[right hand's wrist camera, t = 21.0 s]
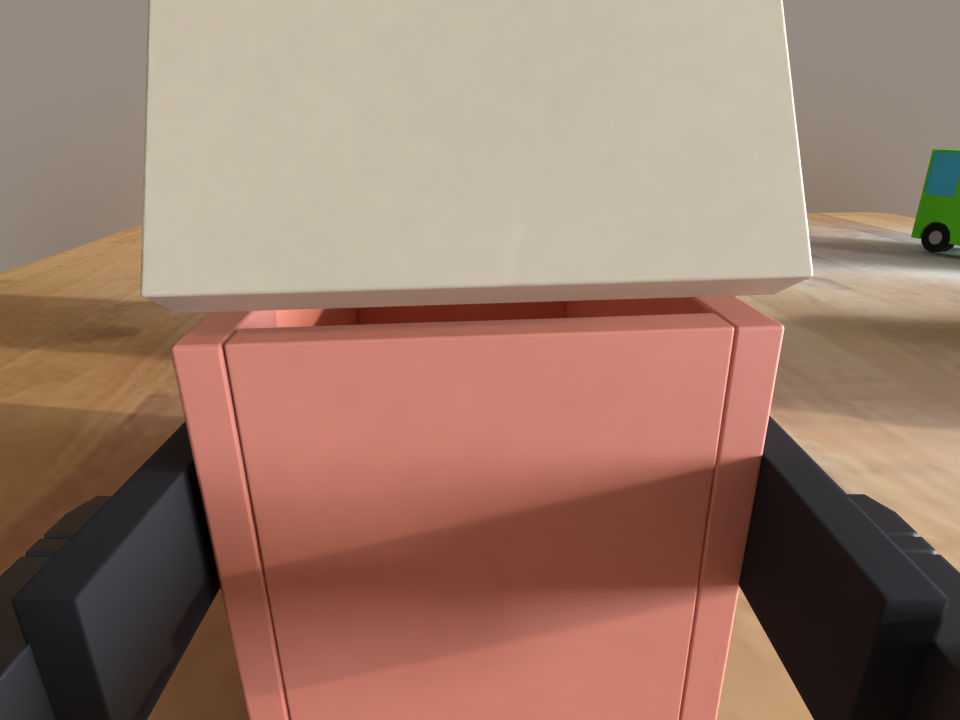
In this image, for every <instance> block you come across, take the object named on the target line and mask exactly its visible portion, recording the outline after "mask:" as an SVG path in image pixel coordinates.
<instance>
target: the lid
mask: <svg viewBox="0 0 960 720" xmlns="http://www.w3.org/2000/svg"><path fill="white" fill-rule="evenodd" d="M812 276H813V268H812V259H811V250H810V241H809V232H808V223H807V215H806V206H805V197H804V188H803V179H802V170H801V161H800V153H799V144H798V135H797V126H796V117H795V108H794V99H793V90H792V81H791V73H790V64H789V55H788V46H787V37H786V28H785V19H784V10H783V2H782V0H149V2H148V38H147V75H146V110H145V147H144V184H143V220H142V255H141V291H140V293H141V296H142V297H143V298H145V299H148V300H150V301H152V302H154V303H156V304H159V305H161V306H163V307H165V308H167V309H169V310H172V311H174V312H176V313H199V312H231V311H263V310H295V309H327V308H358V307H390V306H422V305H454V304H486V303H517V302H549V301H581V300H613V299H645V298H676V297H708V296H740V295H772V294H775V293H777V292H779V291H781V290H783V289H786V288H788V287H790V286H792V285H795V284H797V283H799V282H801V281H803V280H806V279H808V278H810V277H812Z"/></svg>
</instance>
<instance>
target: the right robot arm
mask: <svg viewBox="0 0 960 720" xmlns="http://www.w3.org/2000/svg"><path fill="white" fill-rule="evenodd" d="M44 536H45V537H44V539H39V540H38V541H37V542H36V543H35V544H34V545H33V546H32V547H31V548H30V549H29V550H28V551H27V552H26V556H25V557H20V558H19V559H18V560H17V561H16V562H15V563H14V564H13V565H12V566H11V567H10V568H9V569H8V570H7V571H6V572H5V573H4V574H3V575H2V576H0V720H147V718H148V716H149V715H150V713H151V711H152V709H153V707H154V706H155V704H156V702H157V700H158V698H159V697H160V695H161V693H162V691H163V689H164V688H165V686H166V684H167V682H168V680H169V679H170V677H171V675H172V673H173V672H174V670H175V668H176V666H177V664H178V663H179V661H180V659H181V657H182V655H183V654H184V652H185V650H186V648H187V646H188V645H189V643H190V641H191V639H192V637H193V636H194V634H195V632H196V630H197V628H198V627H199V625H200V623H201V621H202V619H203V618H204V616H205V614H206V612H207V610H208V609H209V607H210V605H211V603H212V602H213V600H214V598H215V596H216V594H217V593H218V591H219V589H220V587H221V586H220V581H219V577H218V572H217V567H216V562H215V558H214V553H213V548H212V544H211V539H210V534H209V530H208V525H207V520H206V515H205V511H204V506H203V501H202V497H201V492H200V487H199V482H198V478H197V473H196V468H195V464H194V459H193V454H192V449H191V445H190V440H189V435H188V431H187V426H186V421H185V422H184V423H183V424H182V425H181V427H180V428H179V429H178V430H177V431H176V432H175V433H174V434H173V435H172V436H171V437H170V438H169V439H168V440H167V441H166V442H165V443H164V444H163V445H162V446H161V447H160V448H159V449H158V450H157V451H156V452H155V453H154V454H153V455H152V456H151V457H150V458H149V459H148V460H147V461H146V462H145V463H144V464H143V465H142V466H141V467H140V468H139V469H138V470H137V471H136V472H135V473H134V474H133V475H132V476H131V477H130V478H129V479H128V480H127V481H126V482H125V483H124V485H123V486H122V487H121V488H120V489H119V490H118V491H117V492H116V493H115V494H114V495H113V496H97V497H95V498H93V499H91V500H90V501H88V502H86V503H85V504H83V505H81V506H79V507H78V508H76V509H74V510H72V511H71V512H69V513H67V514H66V515H65V516H64V517H63V518H62V519H61V520H60V521H58V522H57V523H56V524H55V525H54V526H53V527H52V528H51V529H50V530H49V531H48V532H47V533H46V534H45V535H44ZM739 586H740V588H741V590H742V591H743V593H744V595H745V597H746V599H747V600H748V602H749V604H750V606H751V607H752V609H753V611H754V613H755V615H756V616H757V618H758V620H759V622H760V624H761V625H762V627H763V629H764V631H765V633H766V634H767V636H768V638H769V640H770V642H771V643H772V645H773V647H774V649H775V651H776V652H777V654H778V656H779V658H780V660H781V661H782V663H783V665H784V667H785V668H786V670H787V672H788V674H789V676H790V677H791V679H792V681H793V683H794V685H795V686H796V688H797V690H798V692H799V694H800V695H801V697H802V699H803V701H804V703H805V704H806V706H807V708H808V710H809V712H810V713H811V715H812V717H813V719H814V720H960V573H959V572H958V571H957V570H956V569H955V568H954V567H953V566H952V565H951V564H950V563H949V562H948V561H947V560H946V559H944V558H943V557H942V556H941V555H937V554H936V550H935V549H934V548H933V547H932V546H931V545H930V544H929V543H927V542H926V541H925V540H924V539H923V538H922V537H918V536H917V532H916V531H915V530H914V529H913V528H912V527H910V526H909V525H908V524H907V523H906V522H905V521H904V520H903V519H902V518H901V517H900V516H899V515H898V514H897V513H896V512H894V511H892V510H891V509H889V508H887V507H885V506H884V505H882V504H880V503H879V502H877V501H875V500H873V499H872V498H870V497H868V496H866V495H865V494H846V493H845V492H844V491H843V490H842V489H841V488H840V487H839V486H838V485H837V484H836V483H835V482H834V481H833V480H832V479H831V478H830V477H829V476H828V475H827V474H826V473H825V472H824V471H823V470H822V468H821V467H820V466H819V465H818V464H817V463H816V462H815V461H814V460H813V459H812V458H811V457H810V456H809V455H808V454H807V453H806V452H805V451H804V450H803V449H802V448H801V447H800V446H799V445H798V444H797V443H796V442H795V441H794V440H793V439H792V438H791V437H790V436H789V435H788V434H787V433H786V432H785V431H784V430H783V429H782V428H781V427H780V426H779V425H778V424H777V423H776V422H775V421H774V420H773V419H772V418H771V417H770V416H769V419H768V425H767V431H766V436H765V442H764V448H763V454H762V459H761V465H760V471H759V477H758V482H757V488H756V494H755V499H754V505H753V510H752V515H751V521H750V526H749V531H748V537H747V542H746V547H745V553H744V558H743V563H742V569H741V574H740V579H739Z"/></svg>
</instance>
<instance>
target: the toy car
mask: <svg viewBox="0 0 960 720" xmlns="http://www.w3.org/2000/svg"><path fill="white" fill-rule="evenodd" d="M911 237H913V238H919V239H921V238H922V240H921V243H922V245H923V246H924V248H925V249H926V250H928V251H930V252H943V251H948V250H949V249H951V248H952V247H954V245H958V246H960V149H933V151H932V155H931V159H930V163H929V167H928V171H927V175H926V179H925V183H924V187H923V191H922V195H921V199H920V203H919V207H918V211H917V216H916V220H915V224H914V228H913V232H912V236H911Z"/></svg>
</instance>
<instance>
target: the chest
mask: <svg viewBox="0 0 960 720" xmlns="http://www.w3.org/2000/svg"><path fill="white" fill-rule="evenodd" d="M783 333H784V326H783V325H782V324H780V323H778V322H777V321H775V320H773V319H772V318H770V317H768V316H767V315H765V314H763V313H762V312H760V311H758V310H757V309H755V308H753V307H752V306H750V305H748V304H747V303H745V302H743V301H742V300H740V299H738V298H737V297H735V296H708V297H676V298H645V299H613V300H581V301H549V302H517V303H486V304H454V305H422V306H390V307H358V308H327V309H295V310H263V311H231V312H211V313H210V314H209V315H208V316H207V317H206V318H204V319H203V320H202V321H201V322H200V323H198V324H197V325H196V326H195V327H194V328H192V329H191V330H190V331H189V332H188V333H187V334H185V335H184V336H183V337H182V338H181V339H179V340H178V341H177V342H176V343H175V344H173V345H172V347H171V355H172V360H173V365H174V369H175V374H176V379H177V383H178V388H179V393H180V398H181V402H182V407H183V412H184V416H185V421H186V426H187V431H188V435H189V440H190V445H191V449H192V454H193V459H194V464H195V468H196V473H197V478H198V482H199V487H200V492H201V497H202V501H203V506H204V511H205V515H206V520H207V525H208V530H209V534H210V539H211V544H212V548H213V553H214V558H215V562H216V567H217V572H218V577H219V581H220V586H221V591H222V595H223V600H224V605H225V610H226V614H227V619H228V624H229V628H230V633H231V638H232V643H233V647H234V652H235V657H236V661H237V666H238V671H239V676H240V680H241V685H242V690H243V694H244V699H245V704H246V709H247V713H248V718H249V720H716V718H717V712H718V707H719V701H720V695H721V689H722V684H723V678H724V672H725V666H726V661H727V655H728V649H729V643H730V638H731V632H732V626H733V620H734V615H735V609H736V603H737V597H738V592H739V579H740V574H741V569H742V563H743V558H744V553H745V547H746V542H747V537H748V531H749V526H750V521H751V515H752V510H753V505H754V499H755V494H756V488H757V482H758V477H759V471H760V465H761V459H762V454H763V448H764V442H765V436H766V431H767V425H768V419H769V413H770V408H771V402H772V396H773V390H774V385H775V379H776V373H777V367H778V362H779V356H780V350H781V344H782V339H783Z"/></svg>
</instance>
